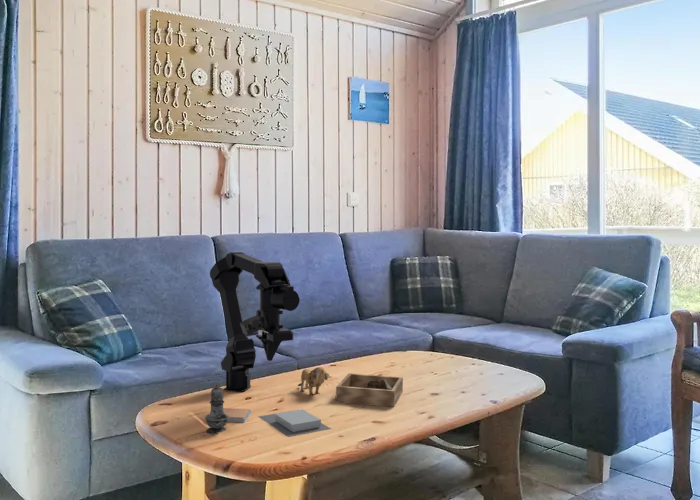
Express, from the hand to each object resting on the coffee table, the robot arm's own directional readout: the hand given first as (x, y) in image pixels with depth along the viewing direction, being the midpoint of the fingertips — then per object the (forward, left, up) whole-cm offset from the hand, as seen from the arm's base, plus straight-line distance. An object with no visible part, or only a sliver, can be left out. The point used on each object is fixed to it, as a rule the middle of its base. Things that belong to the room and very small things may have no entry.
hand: (269, 360), depth 191 cm
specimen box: (+27, +13, -12) cm, 32 cm away
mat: (+13, -17, -12) cm, 24 cm away
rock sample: (+30, +16, -12) cm, 36 cm away
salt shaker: (-4, -27, -12) cm, 30 cm away
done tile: (-5, -17, -12) cm, 22 cm away
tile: (+11, -15, -10) cm, 21 cm away
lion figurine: (+9, +12, -12) cm, 20 cm away
